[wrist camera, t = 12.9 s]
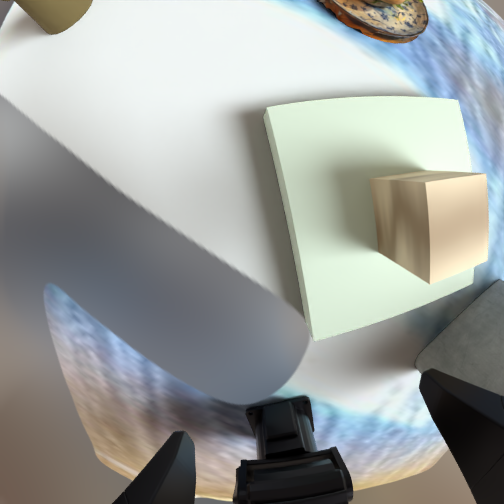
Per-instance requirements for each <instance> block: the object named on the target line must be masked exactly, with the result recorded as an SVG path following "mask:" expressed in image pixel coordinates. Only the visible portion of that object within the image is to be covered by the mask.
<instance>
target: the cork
mask: <svg viewBox="0 0 504 504" xmlns="http://www.w3.org/2000/svg"><path fill="white" fill-rule="evenodd" d="M3 1H10V0H3ZM14 1H15V2H16V3H17V4H18V5H19V6H20V7H21V8H22V9H23V10H24V11H25V12H26V13H27V14H28V15H29V16H30V17H32V18H33V19H34V20H35V21H36V22H37V23H38V24H39V25H40V26H41V27H42V28H43V29H44V30H45V31H46V32H47V33H49V34H51V35H53V34H58V33H61V32H63V31H65V30H66V29H68V28H69V27H71V26H72V25H73V24H75V23H76V22H77V21H78V20H79V19H80V18H81V17H82V16H83V15H84V14H85V13H86V11H87V10H88V9H89V7H90V6H91V3H92V1H93V0H14Z"/></svg>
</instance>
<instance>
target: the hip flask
mask: <svg viewBox="0 0 504 504" xmlns="http://www.w3.org/2000/svg"><path fill="white" fill-rule="evenodd" d="M415 367H416V368H417V369H418V371H419V372H420V373H421V374H422V372H423V371H425V370H427V369H429V368H434V369H437V370H439V371H442V372H444V373H446V374H449V375H451V376H454V377H456V378H459V379H461V380H464V381H466V382H469V383H471V384H474V385H476V386H479V387H481V388H484V389H487V390H489V391H492V392H494V393H497V394H500V395H503V396H504V281H502V280H498V281H496V282H495V283H494V284H493V285H491V286H490V287H489V288H488V289H487V290H486V291H484V292H483V293H482V294H481V295H480V296H479V297H478V298H477V299H476V300H475V301H473V302H472V303H471V304H470V305H469V306H468V307H467V308H466V309H465V310H464V311H463V312H462V313H461V314H460V315H459V316H458V317H457V318H455V319H454V320H453V321H452V322H451V323H450V324H449V325H448V326H447V327H446V328H445V329H444V330H443V331H442V332H441V333H440V334H439V335H438V336H437V337H436V338H435V339H434V340H433V341H432V342H431V343H430V344H429V345H428V346H427V347H426V348H425V349H424V350H423V351H422V352H421V353H420V354H419V355H418V357H417V359H416V361H415Z"/></svg>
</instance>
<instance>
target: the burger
mask: <svg viewBox="0 0 504 504" xmlns="http://www.w3.org/2000/svg"><path fill="white" fill-rule="evenodd" d="M317 1H319V2H322V3H323V4H324V5H325V6H326V8H330V9H331V10H332V11H333V12H334V13H335V14H336V17H337V19H338V20H340V21H342V22H344V23H345V24H346V25H347V26H349V27H352V28H356V29H360V30H361V31H362V32H363V33H362V34H364V35H366V36H369V37H371V38H374V39H377V40H381V41H384V42H390V43H407V42H410V41H413V40H414V39H416V38H417V37H418V35H420V34H421V33H423V32H424V31H425V29H426V27H427V25H428V14H427V10H426V6H425V5H424V3H423V0H317Z"/></svg>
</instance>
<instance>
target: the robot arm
mask: <svg viewBox="0 0 504 504" xmlns="http://www.w3.org/2000/svg"><path fill="white" fill-rule="evenodd" d="M419 389H420V392H421V394H422V396H423V399H424V401H425V403H426V405H427V408H428V410H429V412H430V415H431V417H432V419H433V421H434V423H435V424H436V426H437V428H438V430H439V431H440V433H441V435H442V437H443V438H444V440H445V442H446V444H447V446H448V447H449V449H450V451H451V453H452V455H453V456H454V458H455V460H456V462H457V464H458V466H459V468H460V470H461V472H462V473H463V476H464V477H465V480H466V482H467V484H468V486H469V488H470V489H471V492H472V494H473V496H474V499H475V501H476V503H477V504H504V396H503V395H500V394H497V393H494V392H492V391H489V390H487V389H484V388H481V387H479V386H476V385H474V384H471V383H469V382H466V381H464V380H461V379H459V378H456V377H454V376H451V375H449V374H446V373H444V372H442V371H439V370H437V369H434V368H429V369H427V370H425V371H423V372H422V375H421V380H420V384H419ZM304 401H305V402H304ZM250 412H251V413H250ZM246 416H247V418H248V421H249V423H250V425H251V428H252V430H253V432H254V435H255V437H256V446H257V460H241V466H239V468H237V469H236V485H235V490H234V494H233V503H234V504H348V502H350V501H351V500H352V499H353V485H352V480H351V476H350V474H349V471H348V469H347V467H346V465H345V463H344V462H343V460H342V458H341V456H340V454H339V452H338V450H337V448H336V446H335V447H331V448H330V449H326V450H321V451H317V447H316V443H315V439H314V435H313V432H314V424H313V417H312V410H311V403H310V399H309V397H302V398H298V399H293V400H289V401H284V402H280V403H275V404H270V405H264V406H259V407H253V408H248V409H246ZM195 487H196V468H195V446H194V443H193V441H192V440H191V438H190V437H189V435H188V434H187V433H186V432H185V431H175V432H173V434H172V435H171V436H170V437H169V438H168V440H167V441H166V442H165V443H164V445H163V446H162V447H161V448H160V449H159V451H158V452H157V453H156V454H155V456H154V457H153V458H152V459H151V460H150V461H149V463H148V464H147V465H146V466H145V467H144V469H143V470H142V471H141V472H140V473H139V474H138V476H137V477H136V478H135V479H134V480H133V481H132V482H131V484H130V485H129V486H128V487H127V488H126V489H125V492H122V494H121V495H120V496H119V497H118V498H117V499H116V500H115V501H114V502H113V503H112V504H194V499H195Z"/></svg>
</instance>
